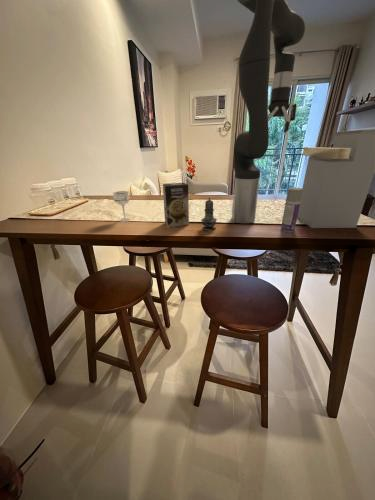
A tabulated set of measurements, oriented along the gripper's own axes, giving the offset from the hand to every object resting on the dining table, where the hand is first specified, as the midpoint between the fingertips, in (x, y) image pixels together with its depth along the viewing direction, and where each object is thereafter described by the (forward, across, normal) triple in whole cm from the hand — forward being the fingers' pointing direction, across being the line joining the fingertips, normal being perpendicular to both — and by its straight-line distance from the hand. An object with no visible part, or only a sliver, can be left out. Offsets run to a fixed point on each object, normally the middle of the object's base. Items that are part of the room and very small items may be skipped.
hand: (275, 132), depth 95 cm
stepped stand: (+33, +16, -25) cm, 45 cm away
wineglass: (+33, -67, -20) cm, 77 cm away
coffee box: (+33, -43, -26) cm, 60 cm away
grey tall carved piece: (+33, -30, -32) cm, 55 cm away
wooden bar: (+9, +12, -22) cm, 26 cm away
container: (+33, -1, -34) cm, 48 cm away
